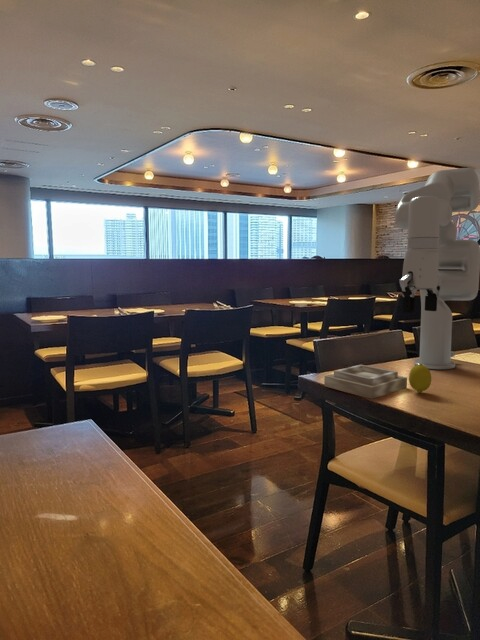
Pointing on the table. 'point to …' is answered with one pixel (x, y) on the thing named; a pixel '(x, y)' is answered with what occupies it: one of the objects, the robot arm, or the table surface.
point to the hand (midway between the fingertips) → (420, 311)
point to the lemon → (420, 378)
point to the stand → (366, 381)
